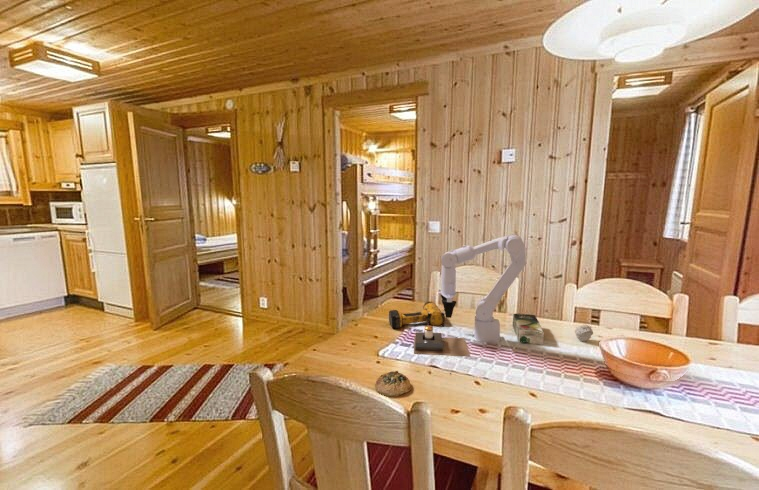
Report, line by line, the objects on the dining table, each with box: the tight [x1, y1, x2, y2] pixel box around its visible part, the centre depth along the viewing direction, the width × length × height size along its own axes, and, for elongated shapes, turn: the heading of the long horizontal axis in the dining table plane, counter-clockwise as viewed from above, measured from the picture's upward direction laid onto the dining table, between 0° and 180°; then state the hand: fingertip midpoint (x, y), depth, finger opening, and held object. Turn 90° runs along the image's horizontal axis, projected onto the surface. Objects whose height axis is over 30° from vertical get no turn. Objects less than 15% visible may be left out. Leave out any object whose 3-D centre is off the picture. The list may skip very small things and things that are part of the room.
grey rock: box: [574, 324, 594, 342], centre depth 140 cm, size 6×7×7 cm
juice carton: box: [512, 313, 545, 345], centre depth 146 cm, size 20×10×6 cm, turn 166°
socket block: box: [414, 331, 443, 352], centre depth 135 cm, size 10×10×3 cm
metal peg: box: [424, 325, 434, 340], centre depth 134 cm, size 3×3×7 cm
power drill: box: [388, 301, 446, 329], centre depth 166 cm, size 7×24×25 cm
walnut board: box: [413, 335, 471, 357], centre depth 134 cm, size 20×16×1 cm
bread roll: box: [374, 370, 412, 397], centre depth 107 cm, size 11×11×5 cm
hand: (447, 314), depth 145 cm, fingers open, 7 cm apart
